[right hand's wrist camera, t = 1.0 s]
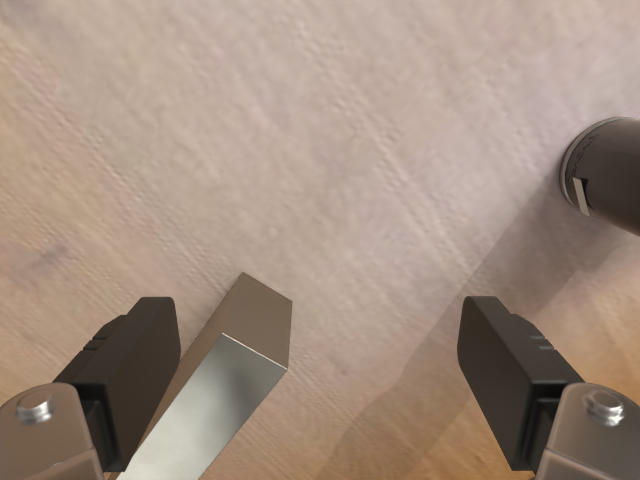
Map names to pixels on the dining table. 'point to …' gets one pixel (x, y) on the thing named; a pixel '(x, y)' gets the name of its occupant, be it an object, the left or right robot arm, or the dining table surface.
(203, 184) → the dining table surface
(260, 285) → the box
